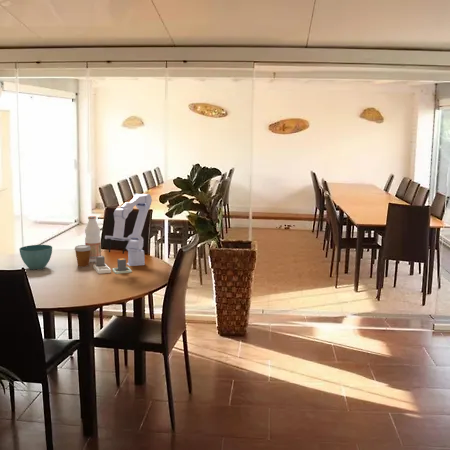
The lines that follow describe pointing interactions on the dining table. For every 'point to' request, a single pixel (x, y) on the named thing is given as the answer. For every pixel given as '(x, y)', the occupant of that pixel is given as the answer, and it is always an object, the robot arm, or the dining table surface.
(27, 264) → the teal bowl
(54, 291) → the dining table surface
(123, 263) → the plug
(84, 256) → the disposable coffee cup
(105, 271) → the strip
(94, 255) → the fruit juice
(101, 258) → the twin plug
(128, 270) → the tray
